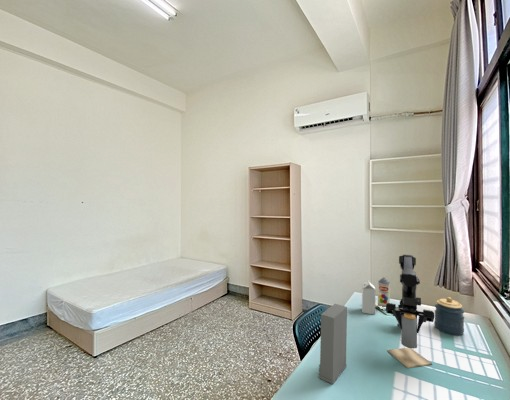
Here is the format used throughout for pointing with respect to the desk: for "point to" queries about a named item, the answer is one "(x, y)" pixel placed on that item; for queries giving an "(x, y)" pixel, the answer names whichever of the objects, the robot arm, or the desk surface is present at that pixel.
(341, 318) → the tall grey pillar
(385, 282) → the aerosol can
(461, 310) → the canister
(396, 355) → the mat
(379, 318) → the desk surface
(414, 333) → the canister
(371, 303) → the milk carton
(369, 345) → the desk surface
